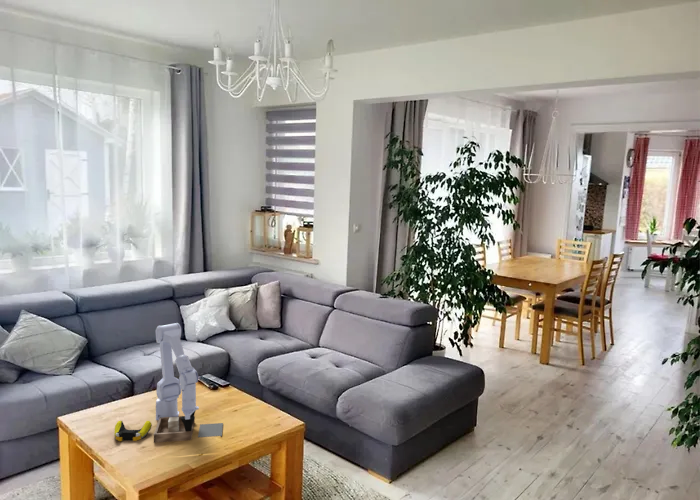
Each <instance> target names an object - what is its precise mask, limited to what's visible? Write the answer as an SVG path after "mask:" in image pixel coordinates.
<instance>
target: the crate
mask: <svg viewBox="0 0 700 500" xmlns="http://www.w3.org/2000/svg"><path fill="white" fill-rule="evenodd" d="M182 416H183V415H180V416H179V415H178V416H176V417H179V432H168V420H169V417H160V418H159V420H157V424H156V425H155V426H156V427H155V429H154V431H153V443H166V442H167V443H168V442H169V443H170V442H182V441H183V442H184V441H192V437H193V433H194V428H195V425H196V424H195V422H196V421H195V420H196V416H195V414H194V417H195V419H194V421H193V424H192V430H191V431H185V427H184V424H183V422H182V420H181V417H182Z"/></svg>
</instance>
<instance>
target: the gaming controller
mask: <svg viewBox="0 0 700 500" xmlns="http://www.w3.org/2000/svg"><path fill="white" fill-rule="evenodd" d="M152 426H153V425H152V422H151V421H150V420H146V421H145V422H144V424H143V425H142V427H141V428H140V429H127V428H126V426H125V424H124V422H123V420H118V421H117V422H116V423H115V425H114V432H113V433H114V439H115V440H116V441H118V442H124V441H128V442H130V441H131V442H132V441H133V442H137V441H141V440H143V438H145V437H146V436H147V435H148V433H150V431H151V429H152Z"/></svg>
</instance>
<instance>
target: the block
mask: <svg viewBox="0 0 700 500" xmlns="http://www.w3.org/2000/svg"><path fill="white" fill-rule="evenodd" d="M168 432H179V417H169V420H168Z"/></svg>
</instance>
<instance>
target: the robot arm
mask: <svg viewBox="0 0 700 500" xmlns="http://www.w3.org/2000/svg"><path fill="white" fill-rule="evenodd" d="M181 336H182V326H181V324H180V323H178V322H176V323H175V322H174V323H169V324H165V325H157V327H156V328H155V340H156V343H157V344H159V350H160V351H159V353H160V360H161V361H160V363H161V371H162V372H161V373H162V378H161V379H160V380H159V381H158V382H157V383H156V391H155V393H156V396H157V398H156V401H155V421H158V420H159V418H160V417H176V416H179V415H180V411H178V410H179V409H178V399H179V396H180V395H181V412H182V413H183V415H181V416H182V417H181V420H182V422H183V424H184V427H185V431H191V430H192V424H193V421H194V419H195V420H196V416H195V417H194V415H195V414H196V411H197V410H199V408H200V407H199V406H198V405H197V398H196V397H197V390H196V389H197V388H196V387H197V384H196V383H198V382H199V374H198V371H197V370H196V369H195V367H193V366H192V363H191V361H190V359H189V356H188V355H186V354H185V351H184V349H183V345H182V341H181ZM173 353H174V355H175V361H173ZM174 362H175V364H176V368H177V371H178V373H179V377H178V378H177V377H175V373H174Z"/></svg>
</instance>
